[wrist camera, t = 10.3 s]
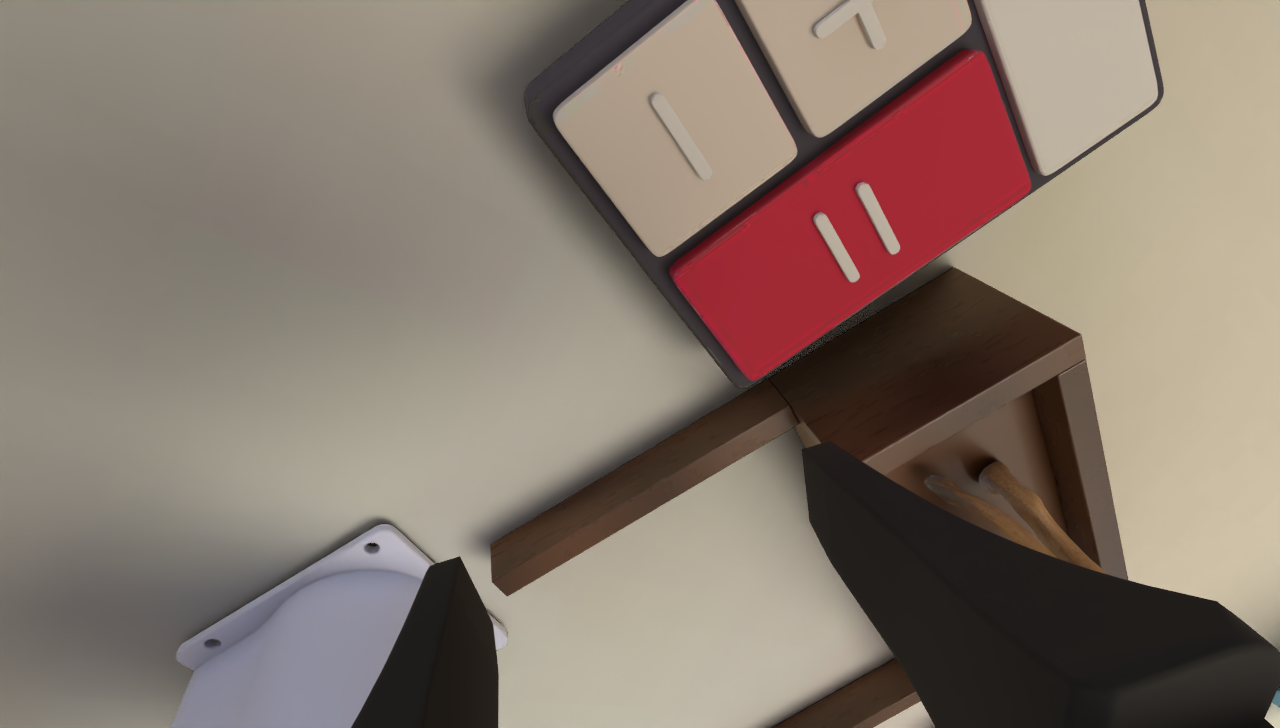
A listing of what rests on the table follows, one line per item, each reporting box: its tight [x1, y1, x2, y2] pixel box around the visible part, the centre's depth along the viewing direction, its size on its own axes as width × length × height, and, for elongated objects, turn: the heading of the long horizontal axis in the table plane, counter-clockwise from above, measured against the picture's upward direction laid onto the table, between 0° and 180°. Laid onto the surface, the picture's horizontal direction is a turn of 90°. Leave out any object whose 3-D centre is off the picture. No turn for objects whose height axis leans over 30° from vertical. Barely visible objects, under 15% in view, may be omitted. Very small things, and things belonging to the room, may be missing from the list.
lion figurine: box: [924, 461, 1107, 574], centre depth 22 cm, size 15×5×9 cm, turn 41°
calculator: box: [524, 0, 1164, 388], centre depth 19 cm, size 11×4×15 cm
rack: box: [490, 268, 1128, 728], centre depth 28 cm, size 20×21×6 cm
